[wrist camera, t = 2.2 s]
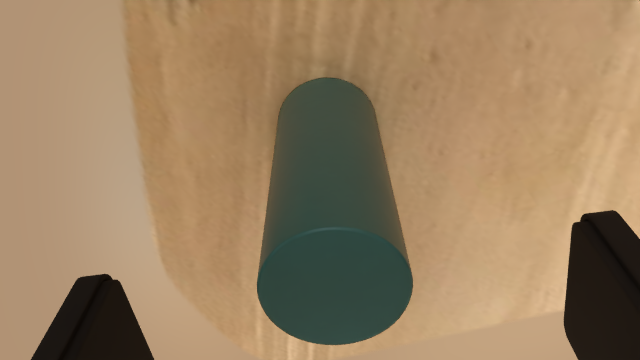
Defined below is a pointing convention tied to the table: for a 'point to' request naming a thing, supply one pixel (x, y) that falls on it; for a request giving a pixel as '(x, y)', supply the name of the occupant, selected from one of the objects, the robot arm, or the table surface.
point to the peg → (331, 221)
